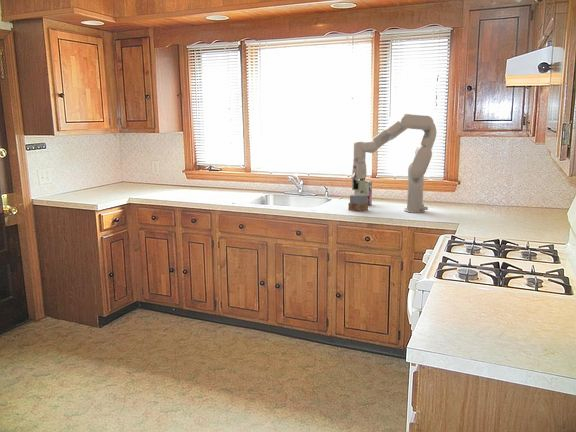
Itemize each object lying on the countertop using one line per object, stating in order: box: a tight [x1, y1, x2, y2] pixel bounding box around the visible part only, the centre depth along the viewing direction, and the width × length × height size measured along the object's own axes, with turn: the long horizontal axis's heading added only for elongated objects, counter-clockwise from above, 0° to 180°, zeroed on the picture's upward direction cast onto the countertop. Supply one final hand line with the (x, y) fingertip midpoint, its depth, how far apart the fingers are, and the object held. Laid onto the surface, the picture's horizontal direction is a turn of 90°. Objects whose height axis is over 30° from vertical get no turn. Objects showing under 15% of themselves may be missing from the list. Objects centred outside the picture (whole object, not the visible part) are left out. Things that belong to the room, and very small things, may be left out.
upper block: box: [349, 193, 368, 204], centre depth 327 cm, size 8×8×5 cm
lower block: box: [347, 202, 369, 213], centre depth 328 cm, size 9×9×5 cm
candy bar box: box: [353, 180, 373, 207], centre depth 347 cm, size 11×5×16 cm, turn 62°
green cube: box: [351, 179, 366, 191], centre depth 326 cm, size 6×6×6 cm
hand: (358, 188), depth 326 cm, fingers closed on green cube, 6 cm apart
